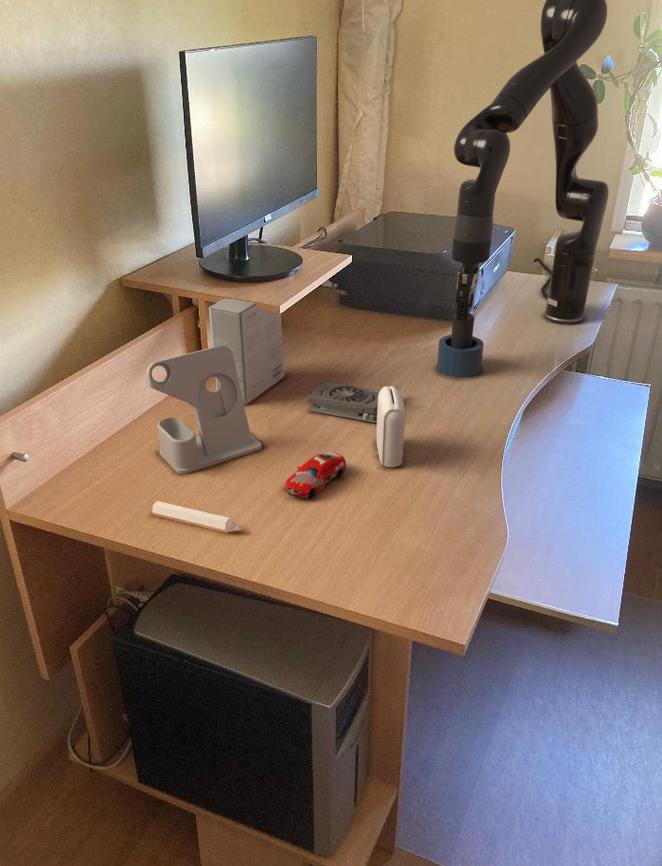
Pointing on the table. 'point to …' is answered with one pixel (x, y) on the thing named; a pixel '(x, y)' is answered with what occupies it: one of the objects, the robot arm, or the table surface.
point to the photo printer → (390, 426)
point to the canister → (462, 332)
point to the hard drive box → (249, 344)
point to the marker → (194, 517)
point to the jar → (459, 358)
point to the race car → (315, 475)
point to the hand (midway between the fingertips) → (464, 313)
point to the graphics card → (345, 401)
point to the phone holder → (203, 411)
